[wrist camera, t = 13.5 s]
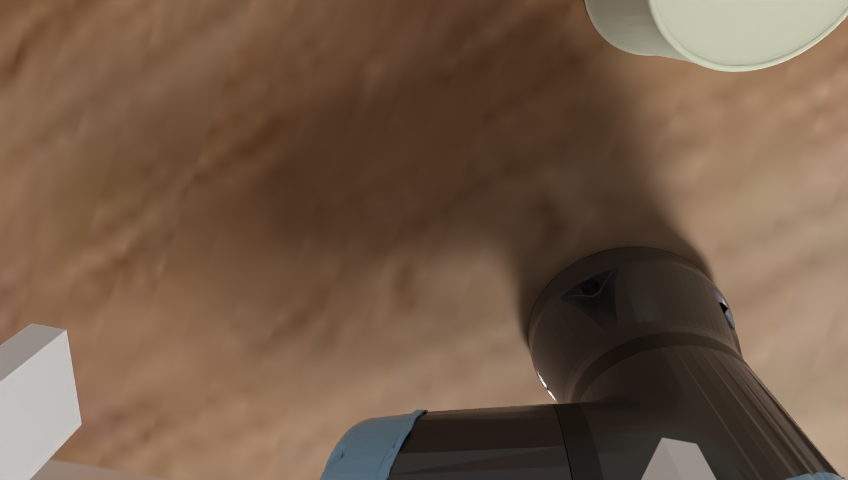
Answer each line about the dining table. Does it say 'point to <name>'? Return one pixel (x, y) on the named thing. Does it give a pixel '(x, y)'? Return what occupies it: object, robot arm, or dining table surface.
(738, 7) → the can
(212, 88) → the dining table surface
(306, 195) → the dining table surface
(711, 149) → the dining table surface
